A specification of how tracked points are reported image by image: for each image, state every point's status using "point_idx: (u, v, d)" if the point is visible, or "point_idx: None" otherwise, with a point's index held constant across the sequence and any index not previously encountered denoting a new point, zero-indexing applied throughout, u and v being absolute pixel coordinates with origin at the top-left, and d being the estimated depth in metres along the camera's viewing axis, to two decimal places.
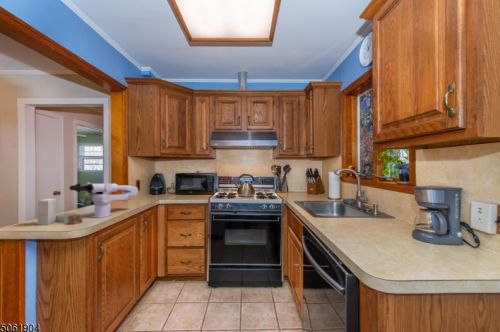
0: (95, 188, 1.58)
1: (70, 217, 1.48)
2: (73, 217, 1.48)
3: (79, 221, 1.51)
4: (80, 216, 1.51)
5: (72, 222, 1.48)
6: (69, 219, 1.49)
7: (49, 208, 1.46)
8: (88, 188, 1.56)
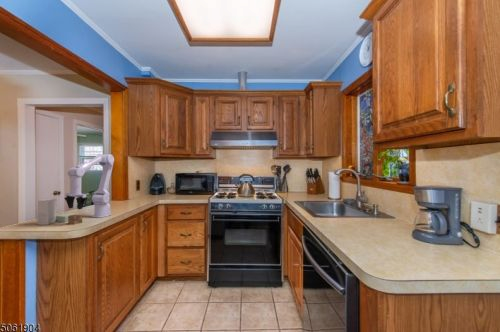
0: (84, 195, 1.48)
1: (70, 217, 1.48)
2: (73, 217, 1.48)
3: (79, 221, 1.51)
4: (80, 216, 1.51)
5: (72, 222, 1.48)
6: (69, 219, 1.49)
7: (49, 208, 1.46)
8: (81, 199, 1.49)
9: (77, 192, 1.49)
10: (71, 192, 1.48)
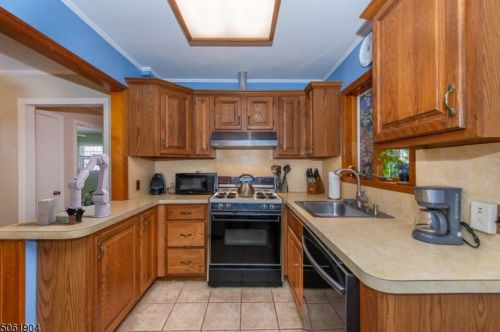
0: (84, 208, 1.49)
1: (70, 217, 1.48)
2: (73, 217, 1.48)
3: (79, 221, 1.50)
4: None
5: (72, 222, 1.48)
6: (69, 219, 1.48)
7: (49, 208, 1.46)
8: (79, 211, 1.50)
9: (77, 204, 1.49)
10: (71, 204, 1.48)
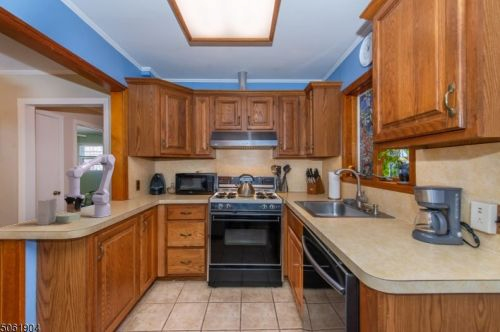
0: (83, 196, 1.50)
1: (69, 205, 1.49)
2: (72, 206, 1.49)
3: (78, 210, 1.52)
4: None
5: (71, 210, 1.49)
6: (68, 207, 1.50)
7: (49, 208, 1.46)
8: (78, 200, 1.51)
9: (76, 193, 1.50)
10: (70, 193, 1.49)
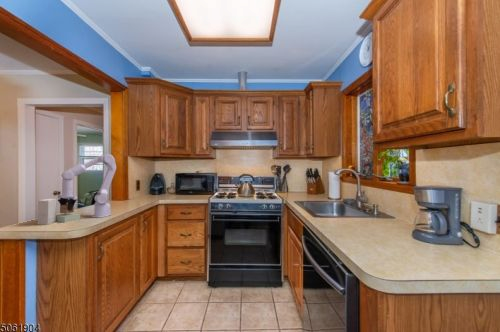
0: (76, 197, 1.56)
1: (62, 206, 1.55)
2: (65, 207, 1.54)
3: (70, 210, 1.57)
4: None
5: (64, 211, 1.55)
6: (61, 208, 1.55)
7: (49, 208, 1.46)
8: (71, 201, 1.57)
9: (69, 194, 1.56)
10: (63, 194, 1.55)
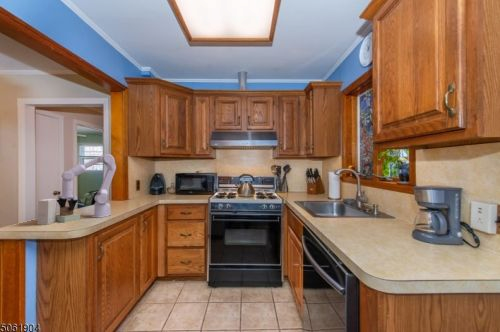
0: (76, 198, 1.56)
1: (61, 209, 1.55)
2: (65, 209, 1.54)
3: (70, 213, 1.57)
4: None
5: (63, 213, 1.55)
6: (60, 211, 1.55)
7: (49, 208, 1.46)
8: (72, 201, 1.56)
9: (69, 194, 1.56)
10: (63, 194, 1.55)
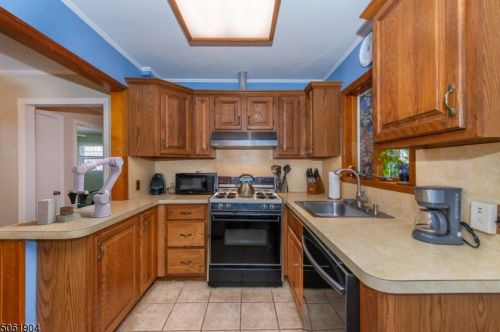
0: (86, 192, 1.55)
1: (62, 209, 1.55)
2: (65, 209, 1.55)
3: (70, 212, 1.58)
4: (71, 208, 1.58)
5: (64, 213, 1.55)
6: (61, 211, 1.55)
7: (49, 208, 1.46)
8: (83, 196, 1.56)
9: (80, 189, 1.56)
10: (74, 188, 1.55)
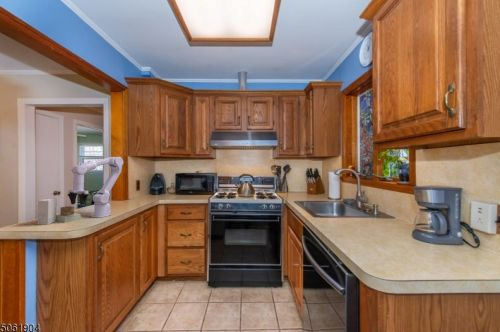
0: (86, 192, 1.55)
1: (62, 209, 1.55)
2: (66, 209, 1.55)
3: (71, 212, 1.58)
4: (72, 208, 1.58)
5: (64, 213, 1.55)
6: (61, 210, 1.55)
7: (49, 208, 1.46)
8: (83, 196, 1.56)
9: (80, 188, 1.56)
10: (74, 188, 1.55)
